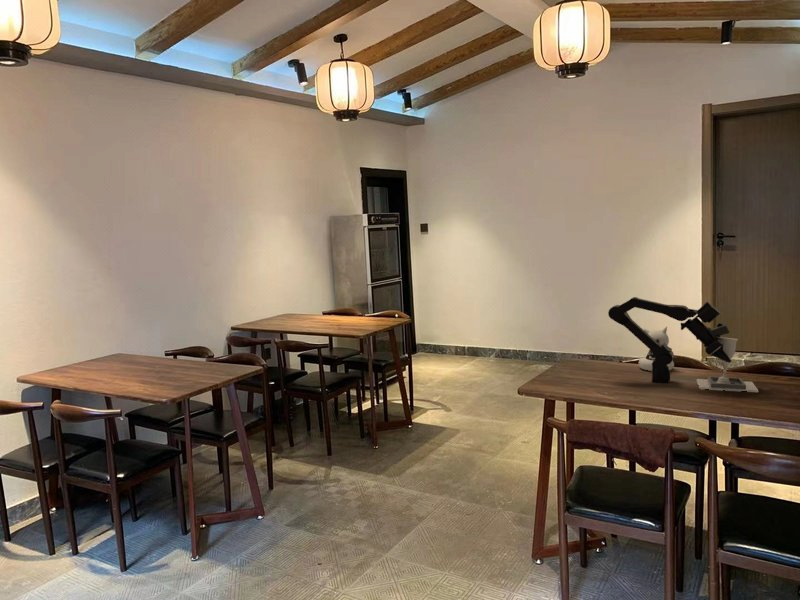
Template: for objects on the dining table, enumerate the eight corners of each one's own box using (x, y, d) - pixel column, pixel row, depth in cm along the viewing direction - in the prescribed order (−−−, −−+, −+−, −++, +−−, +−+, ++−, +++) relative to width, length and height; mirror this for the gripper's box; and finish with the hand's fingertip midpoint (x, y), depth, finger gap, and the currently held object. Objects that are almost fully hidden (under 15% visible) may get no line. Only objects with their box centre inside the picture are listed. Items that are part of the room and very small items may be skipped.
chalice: (737, 385, 235) (742, 339, 234) (723, 384, 233) (727, 339, 232) (723, 381, 242) (728, 337, 241) (709, 381, 240) (713, 336, 239)
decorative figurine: (633, 370, 270) (634, 326, 268) (644, 364, 281) (644, 322, 279) (668, 374, 260) (669, 329, 258) (678, 367, 271) (678, 324, 269)
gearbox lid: (699, 389, 234) (699, 383, 234) (696, 380, 247) (696, 375, 247) (758, 392, 227) (758, 386, 227) (751, 383, 240) (752, 378, 240)
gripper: (716, 320, 228) (748, 351, 224) (717, 314, 244) (747, 342, 240) (692, 339, 233) (723, 369, 229) (695, 332, 249) (724, 360, 245)
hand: (730, 359), depth 235 cm, fingers open, 8 cm apart
